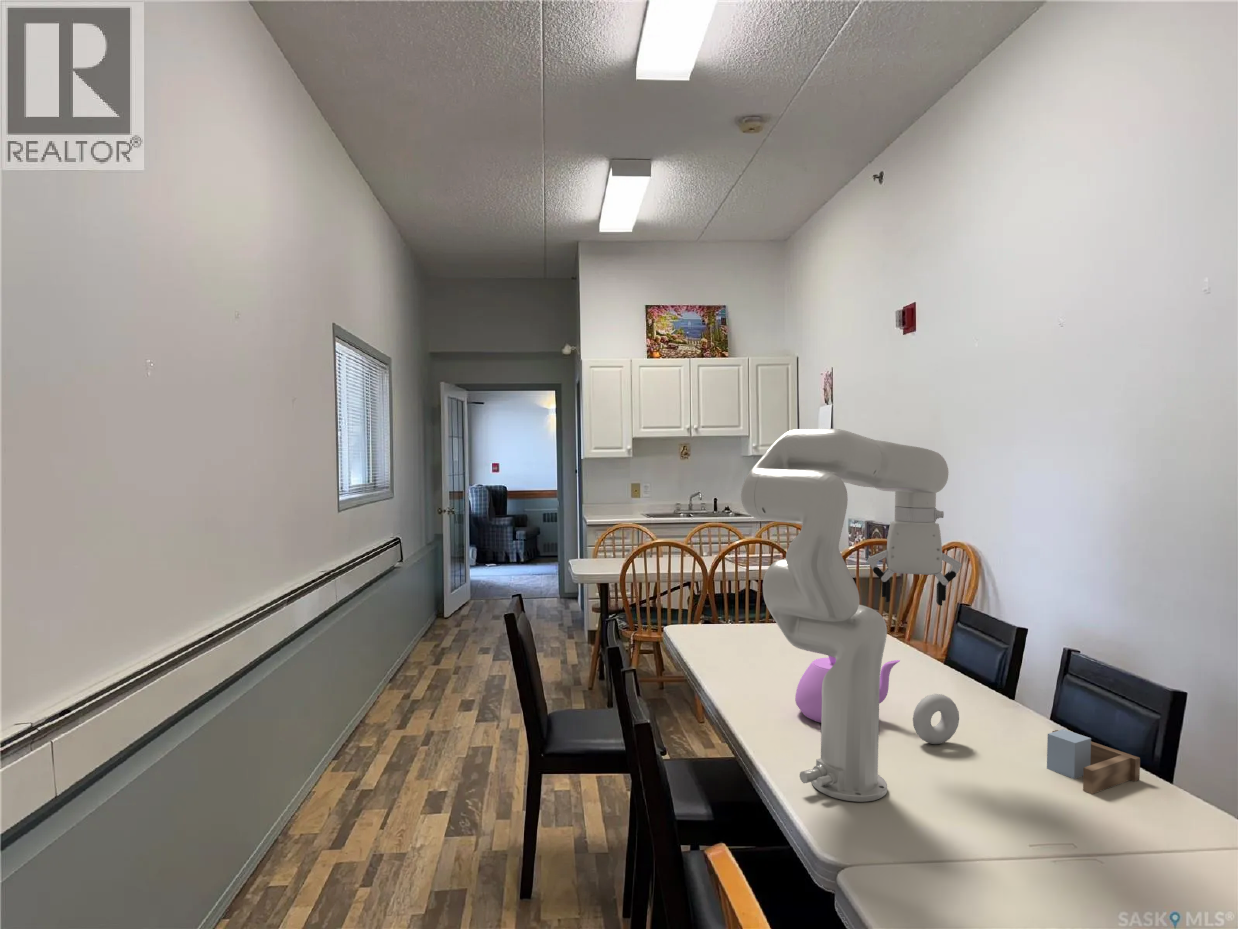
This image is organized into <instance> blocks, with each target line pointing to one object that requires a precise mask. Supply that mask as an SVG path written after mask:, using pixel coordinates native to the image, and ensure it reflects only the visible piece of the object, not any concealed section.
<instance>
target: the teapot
mask: <svg viewBox="0 0 1238 929" xmlns="http://www.w3.org/2000/svg"><path fill="white" fill-rule="evenodd" d="M900 661H901V659H896V660H890V661H887V662H884V663H883V665H881V672H880V689H879V705H880V704H881V703H883V701H885V700H886V698H887V695H888V693H889V687H890V686H889V684H890V673H891V671H892V669H893V668H894V666H896V665H897V664H898V663H899V662H900ZM835 663H836V658H834V657H831V656H828V657H820V658H816V659H814V660H812V662H811V663H810V664H809V665H808V667H806V669H805V671H804V673H803V674H802V675H801V678H800V679H799V681H798V683H797V687H796V691H795V695H794V696H795V704H796V706H797V708H798V709H799V710H800V711H801V713H802V714H803V715H804V716H805V717H807V718H808V719H810V720H812V721H815V722H817V723H821V719H822V683H823V679H824V677H825V675H826V673H827V672H828V671H829V670H830V669H831V668H832V667H833V665H834V664H835Z"/></svg>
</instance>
